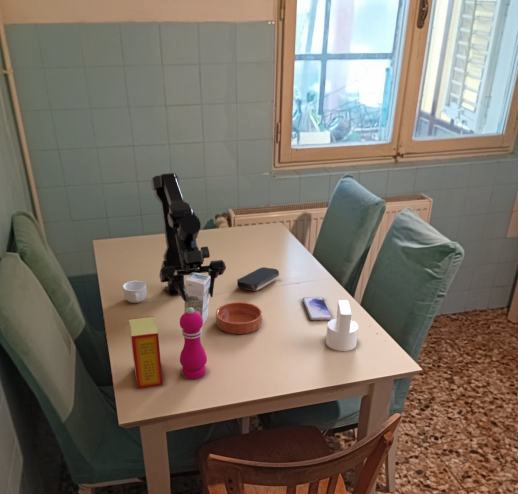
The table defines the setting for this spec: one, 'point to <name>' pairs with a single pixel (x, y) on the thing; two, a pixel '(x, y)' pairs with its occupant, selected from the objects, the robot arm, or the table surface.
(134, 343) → the baking soda box
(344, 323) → the cylinder with rectangular tab
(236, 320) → the bowl
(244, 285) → the black sponge
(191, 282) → the syrup box
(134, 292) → the teacup
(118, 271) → the table surface
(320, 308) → the smartphone
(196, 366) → the pepper mill
